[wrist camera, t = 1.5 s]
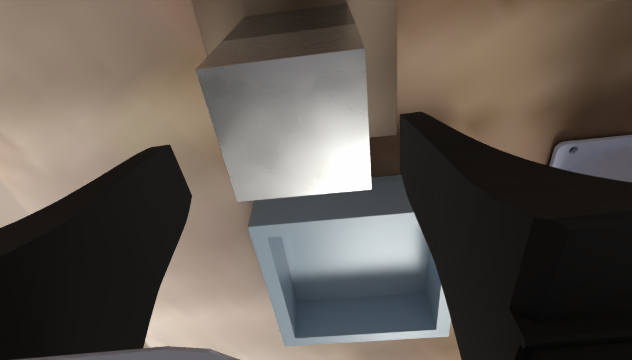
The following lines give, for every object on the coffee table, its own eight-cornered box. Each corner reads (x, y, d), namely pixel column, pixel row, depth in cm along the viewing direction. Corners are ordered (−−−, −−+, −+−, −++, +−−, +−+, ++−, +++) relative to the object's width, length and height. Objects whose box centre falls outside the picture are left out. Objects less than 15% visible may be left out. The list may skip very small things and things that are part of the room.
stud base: (393, -63, 17) (417, -63, 13) (394, 129, 22) (410, 173, 18) (187, -33, 18) (146, -23, 13) (238, 145, 23) (220, 191, 19)
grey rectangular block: (347, 2, 18) (365, 48, 11) (354, 102, 21) (371, 189, 14) (244, 16, 18) (195, 69, 11) (265, 112, 21) (237, 202, 14)
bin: (447, 170, 24) (467, 207, 21) (435, 294, 31) (448, 336, 28) (257, 188, 25) (247, 227, 22) (288, 304, 32) (284, 346, 29)
